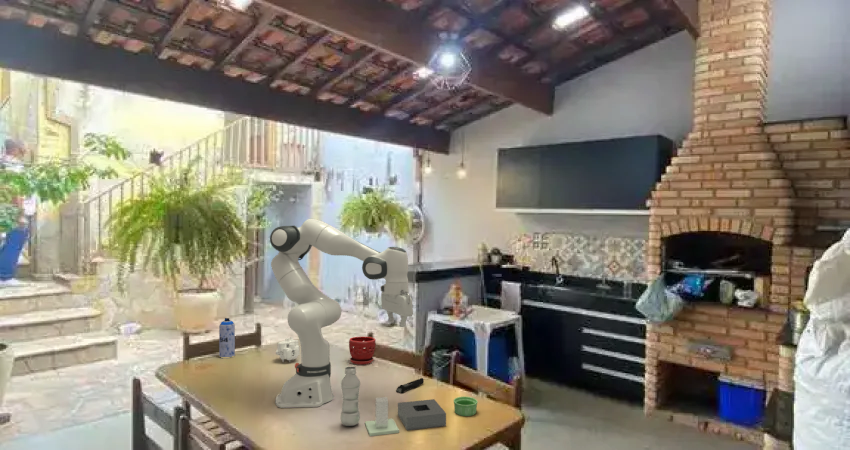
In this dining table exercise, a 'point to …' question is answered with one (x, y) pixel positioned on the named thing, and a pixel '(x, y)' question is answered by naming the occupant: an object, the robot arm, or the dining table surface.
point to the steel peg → (382, 412)
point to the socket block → (421, 414)
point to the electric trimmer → (409, 385)
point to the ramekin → (465, 406)
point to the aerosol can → (227, 338)
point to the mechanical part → (288, 349)
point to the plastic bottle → (350, 398)
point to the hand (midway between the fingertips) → (396, 324)
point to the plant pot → (362, 350)
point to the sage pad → (381, 431)
